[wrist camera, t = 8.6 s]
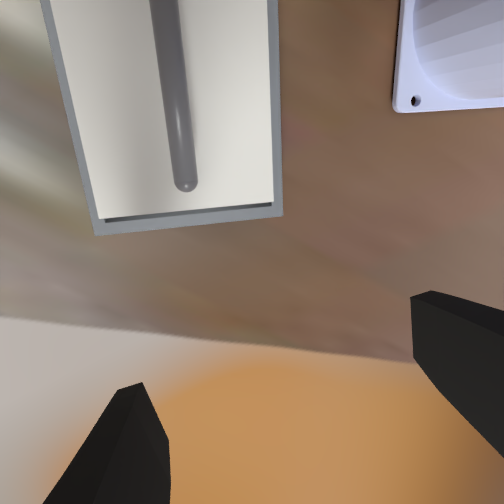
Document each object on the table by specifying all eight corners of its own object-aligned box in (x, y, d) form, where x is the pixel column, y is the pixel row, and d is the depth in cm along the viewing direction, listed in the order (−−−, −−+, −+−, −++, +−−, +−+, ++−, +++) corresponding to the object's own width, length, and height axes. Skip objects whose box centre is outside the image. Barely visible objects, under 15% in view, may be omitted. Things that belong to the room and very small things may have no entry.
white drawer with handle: (229, -8, 13) (279, -144, 7) (241, 174, 16) (285, 211, 9) (94, -8, 12) (-9, -164, 6) (129, 184, 15) (87, 232, 8)
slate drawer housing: (263, -42, 13) (276, -68, 12) (271, 206, 17) (283, 216, 15) (46, -45, 12) (22, -75, 10) (105, 223, 16) (94, 236, 14)
